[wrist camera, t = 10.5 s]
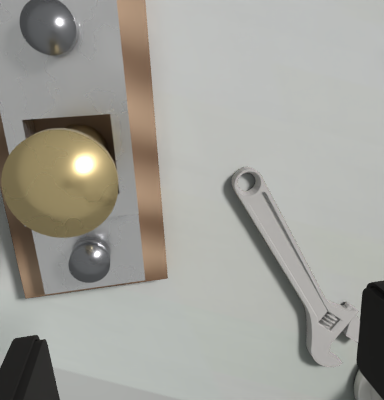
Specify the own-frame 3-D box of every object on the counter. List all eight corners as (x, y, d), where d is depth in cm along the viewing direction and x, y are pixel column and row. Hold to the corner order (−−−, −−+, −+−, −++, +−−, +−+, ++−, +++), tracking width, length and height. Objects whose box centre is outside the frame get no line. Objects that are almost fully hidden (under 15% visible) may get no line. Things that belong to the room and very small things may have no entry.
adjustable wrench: (223, 175, 32) (228, 180, 31) (286, 140, 33) (295, 144, 31) (313, 363, 41) (321, 375, 39) (363, 336, 41) (373, 346, 40)
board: (166, 271, 34) (167, 278, 32) (28, 290, 32) (25, 298, 31) (141, -27, 26) (142, -32, 25) (-42, -26, 24) (-50, -31, 23)
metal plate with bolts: (144, 271, 32) (148, 302, 27) (48, 284, 31) (36, 319, 26) (114, -14, 25) (113, -35, 20) (-12, -13, 23) (-43, -35, 19)
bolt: (122, 182, 29) (124, 230, 20) (49, 190, 28) (14, 244, 19) (113, 110, 27) (111, 125, 18) (35, 116, 26) (-11, 135, 17)
